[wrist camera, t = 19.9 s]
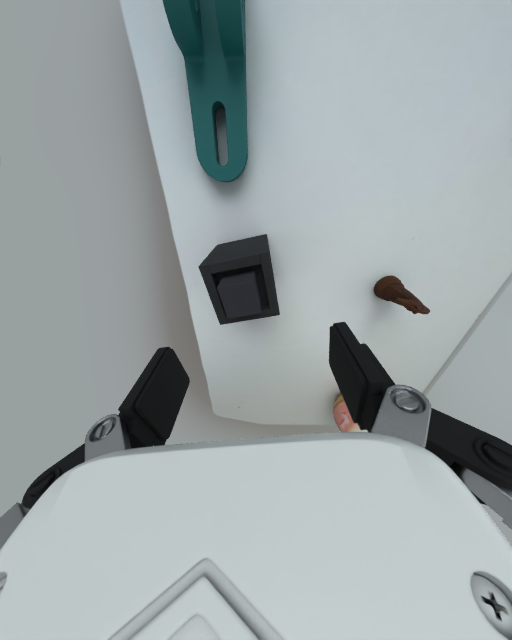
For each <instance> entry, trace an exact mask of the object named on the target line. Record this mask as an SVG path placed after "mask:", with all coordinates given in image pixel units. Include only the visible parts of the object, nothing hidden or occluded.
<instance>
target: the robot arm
mask: <svg viewBox="0 0 512 640" xmlns="http://www.w3.org/2000/svg"><path fill="white" fill-rule="evenodd" d="M329 364H330V367H331V370H332V372H333V375H334V377H335V379H336V382H337V384H338V387H339V389H340V392H341V394H342V396H343V399H344V401H345V404H346V406H347V408H348V411H349V413H350V416H351V418H352V420H353V422H354V423H358V426H359V428H360V430H367V431H368V432H332V433H315V434H300V435H286V436H274V437H260V438H247V439H235V440H224V441H223V440H222V441H210V442H198V443H186V444H175V445H165V442H166V440H167V439H168V438H169V437H170V434H171V432H172V429H173V426H174V423H175V421H176V418H177V415H178V413H179V410H180V407H181V404H182V402H183V399H184V396H185V394H186V391H187V388H188V386H189V382H190V381H189V377H188V375H187V373H186V371H185V370H184V368H183V366H182V364H181V362H180V361H179V359H178V357H177V355H176V354H175V352H174V350H173V349H171V348H170V347H164V348H159V349H158V350H157V351H156V353H155V354H154V356H153V357H152V359H151V360H150V362H149V363H148V365H147V366H146V368H145V369H144V371H143V372H142V374H141V375H140V377H139V379H138V380H137V382H136V383H135V385H134V386H133V388H132V389H131V391H130V392H129V394H128V395H127V397H126V398H125V400H124V401H123V403H122V404H121V406H120V407H119V409H118V410H119V411H120V413H119V415H116V414H111V415H108V416H106V417H104V418H102V419H101V420H99V421H98V422H97V423H96V424H94V425H93V426H92V428H91V429H90V430H89V431H88V434H87V435H86V438H85V443H84V444H83V445H81V446H80V447H79V448H77V449H76V450H75V451H73V452H71V453H70V454H69V455H67V456H66V457H64V458H63V459H62V460H60V461H59V462H57V463H56V464H55V465H53V466H52V467H50V468H49V469H47V470H46V471H45V472H43V474H41V475H40V476H39V477H38V478H37V479H36V480H35V481H34V482H33V483H32V484H31V485H30V487H29V488H28V489H27V491H26V493H25V495H24V497H23V500H22V503H21V504H20V503H16V504H15V505H14V506H13V507H12V508H11V509H9V510H8V511H7V512H6V513H5V514H4V515H3V516H2V517H1V518H0V640H512V546H511V545H510V543H509V542H508V540H507V539H506V538H505V536H504V535H503V534H502V532H501V531H500V529H499V528H498V527H497V525H496V524H495V522H494V521H493V520H492V519H491V517H490V516H489V515H488V514H487V512H486V511H485V509H484V508H483V507H482V505H481V504H480V503H482V504H485V505H488V506H489V507H490V508H491V509H493V510H494V511H495V512H496V513H497V514H499V515H500V516H501V517H502V518H503V522H504V523H505V524H506V525H507V526H508V527H509V528H511V529H512V445H510V444H508V443H507V442H505V441H503V440H501V439H499V438H497V437H495V436H492V435H490V434H488V433H486V432H484V431H481V430H479V429H477V428H475V427H472V426H470V425H468V424H466V423H464V422H461V421H459V420H457V419H455V418H452V417H451V416H448V415H446V414H444V413H442V412H440V411H437V410H435V409H433V408H431V404H430V403H429V400H428V399H427V398H426V397H425V396H424V395H423V394H422V393H421V392H419V391H418V390H416V389H414V388H412V387H409V386H405V385H395V383H394V382H393V381H392V379H391V378H390V376H389V375H388V374H387V372H386V371H385V369H384V368H383V367H382V365H381V364H380V363H379V361H378V360H377V358H376V357H375V356H374V354H373V353H372V351H371V350H370V349H369V347H368V346H367V345H366V344H360V343H359V342H358V340H357V339H356V337H355V336H354V334H353V333H352V331H351V330H350V328H349V327H348V325H347V324H346V323H345V322H340V323H334V324H333V326H331V327H330V345H329ZM153 445H154V446H153ZM472 574H474V575H472Z"/></svg>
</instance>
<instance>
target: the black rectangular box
mask: <svg viewBox="0 0 512 640" xmlns="http://www.w3.org/2000/svg"><path fill="white" fill-rule="evenodd" d="M199 269H200V272H201V274H202V277H203V280H204V283H205V285H206V288H207V291H208V293H209V296H210V299H211V301H212V304H213V307H214V309H215V312H216V315H217V318H218V320H219V323H220V325H221V324H228V323H234V322H240V321H246V320H252V319H258V318H264V317H271V316H276V315H280V313H279V307H278V301H277V294H276V288H275V282H274V276H273V270H272V264H271V257H270V251H269V245H268V239H267V234H265V235H260V236H256V237H251V238H246V239H242V240H237V241H233V242H228V243H223V244H219V245H217V246H216V247H215V248H214V249H213V250H212V252H211V253H210V254H209V255H208V256H207V257H206V259H205V260H204V261H203V262H202V263H201V264H200V266H199ZM251 270H255V273H256V278H257V282H258V287H259V292H260V296H261V313H260V314H254V315H248V316H242V317H236V318H230V319H228V318H227V315H226V312H225V310H224V307H223V304H222V301H221V298H220V295H219V292H218V289H217V287H218V285H219V283H220V281H221V279H222V276H226V275H231V274H236V273H241V272H246V271H251Z"/></svg>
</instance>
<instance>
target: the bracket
mask: <svg viewBox="0 0 512 640" xmlns="http://www.w3.org/2000/svg"><path fill="white" fill-rule="evenodd" d="M163 3H164V7H165V11H166V14H167V18H168V21H169V24H170V28H171V30H172V33H173V36H174V38H175V41H176V43H177V45H178V46H179V48H180V50H181V52H182V54H183V56H184V60H185V66H186V74H187V82H188V90H189V97H190V105H191V113H192V121H193V128H194V136H195V144H196V151H197V156H198V159H199V162H200V164H201V166H202V168H203V169H204V171H205V172H206V173H207V174H208V175H209V176H211V177H212V178H214V179H216V180H218V181H222V182H231V181H233V180H235V179H237V178H238V177H239V176H240V175H241V174H242V172H243V171H244V169H245V166H246V163H247V157H248V148H247V94H246V40H245V0H163ZM219 108H223V109H225V111H226V127H227V144H228V163H227V164H226V165H225V166H221V165H220V163H219V155H218V142H217V130H216V118H215V115H216V111H217V110H218V109H219Z"/></svg>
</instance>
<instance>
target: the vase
mask: <svg viewBox="0 0 512 640" xmlns="http://www.w3.org/2000/svg"><path fill="white" fill-rule="evenodd" d="M333 416H334V420H335V422H336V424H337V426H338V428H339V429H340V430H341V432H368V431H367V430H360V428H359V426H358V423H354V422H353V420H352V418H351V416H350V413H349V411H348V408H347V406H346V404H345V401H344V399H343V396H342V394H341V395H340V396H339V397H338V398H337V400H336V401H335V403H334V406H333Z"/></svg>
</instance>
